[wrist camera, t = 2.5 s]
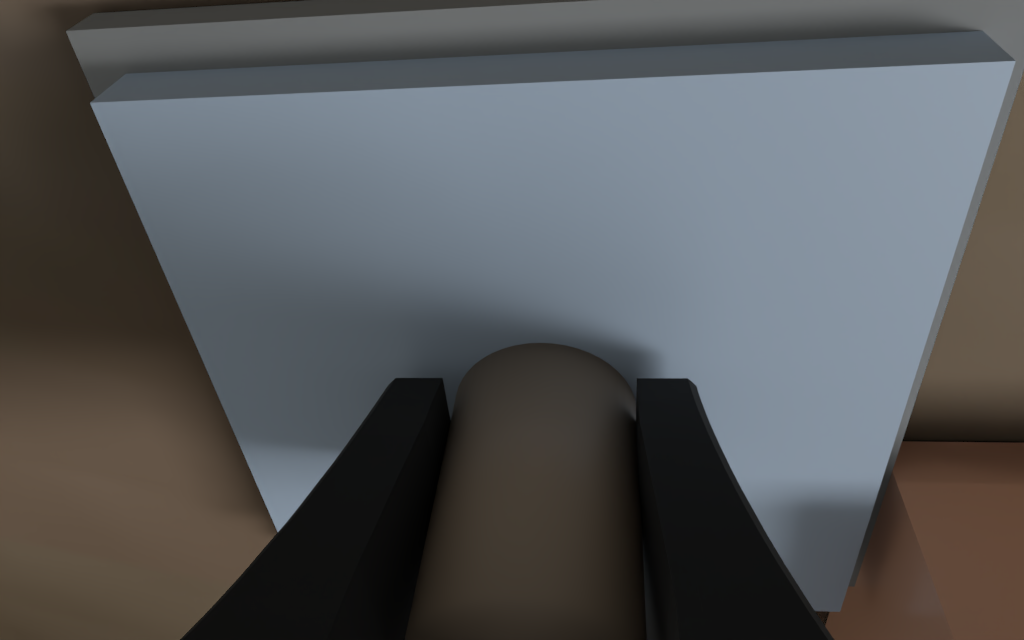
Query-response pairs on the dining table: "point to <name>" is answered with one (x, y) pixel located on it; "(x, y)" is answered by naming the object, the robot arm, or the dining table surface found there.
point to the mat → (532, 29)
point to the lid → (570, 283)
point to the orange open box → (943, 549)
